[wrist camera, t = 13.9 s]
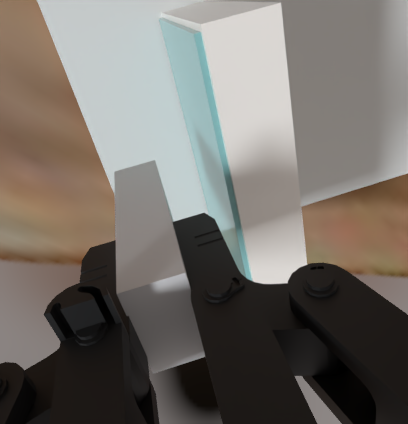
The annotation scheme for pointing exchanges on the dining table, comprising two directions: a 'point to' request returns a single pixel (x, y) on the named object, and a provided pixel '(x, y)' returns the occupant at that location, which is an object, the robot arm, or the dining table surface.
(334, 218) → the dining table surface
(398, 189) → the dining table surface
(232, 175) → the tile
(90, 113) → the mat
